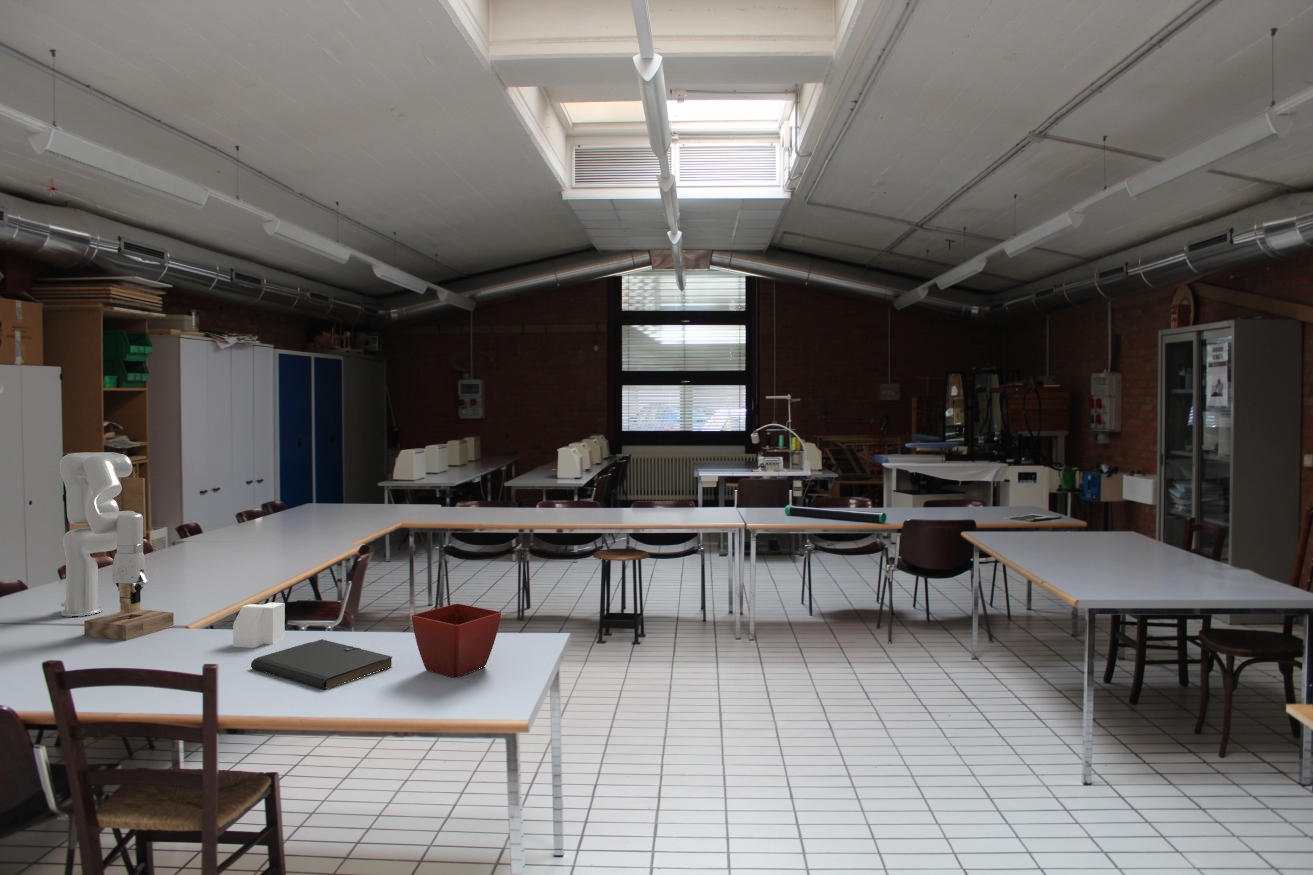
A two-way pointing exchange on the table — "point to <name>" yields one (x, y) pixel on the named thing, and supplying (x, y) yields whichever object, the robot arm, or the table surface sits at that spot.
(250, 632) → the corner bracket
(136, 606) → the peg
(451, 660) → the plant pot
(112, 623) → the board
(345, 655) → the dark grey book
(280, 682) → the table surface
